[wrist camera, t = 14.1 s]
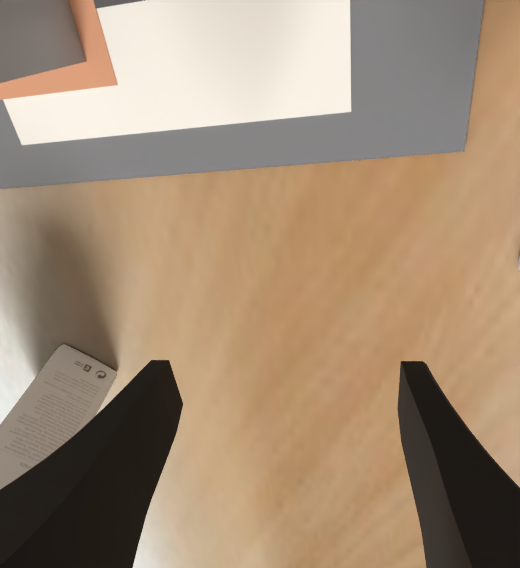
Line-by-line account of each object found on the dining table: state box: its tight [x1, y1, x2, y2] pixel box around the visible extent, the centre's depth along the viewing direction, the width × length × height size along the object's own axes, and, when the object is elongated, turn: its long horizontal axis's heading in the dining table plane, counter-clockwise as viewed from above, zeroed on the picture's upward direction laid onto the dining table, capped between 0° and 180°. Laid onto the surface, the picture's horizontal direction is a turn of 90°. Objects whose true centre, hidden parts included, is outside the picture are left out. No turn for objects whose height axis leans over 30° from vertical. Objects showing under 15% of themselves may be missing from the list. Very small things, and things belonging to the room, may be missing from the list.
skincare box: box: [0, 344, 117, 489], centre depth 24 cm, size 6×4×12 cm
